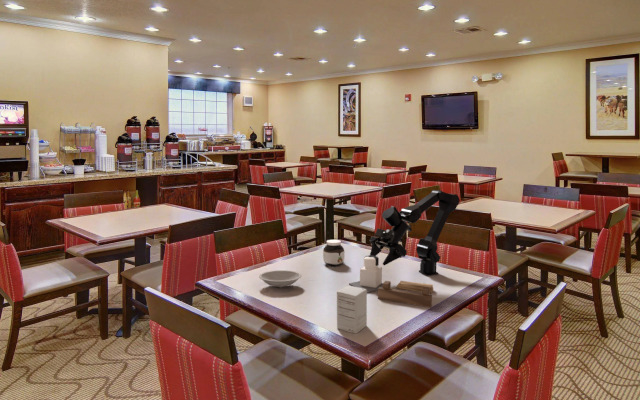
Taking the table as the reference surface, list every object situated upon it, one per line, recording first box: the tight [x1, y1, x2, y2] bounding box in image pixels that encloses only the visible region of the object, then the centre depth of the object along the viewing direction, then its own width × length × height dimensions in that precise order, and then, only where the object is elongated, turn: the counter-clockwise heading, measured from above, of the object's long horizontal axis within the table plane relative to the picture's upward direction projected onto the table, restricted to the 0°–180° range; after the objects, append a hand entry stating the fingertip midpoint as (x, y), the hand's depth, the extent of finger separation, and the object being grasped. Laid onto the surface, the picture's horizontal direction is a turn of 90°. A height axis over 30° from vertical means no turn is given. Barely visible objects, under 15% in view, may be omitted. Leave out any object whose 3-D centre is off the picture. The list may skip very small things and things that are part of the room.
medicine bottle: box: [359, 254, 383, 288], centre depth 178 cm, size 7×7×12 cm
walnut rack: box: [377, 280, 433, 308], centre depth 162 cm, size 4×20×6 cm, turn 63°
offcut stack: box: [396, 280, 434, 294], centre depth 175 cm, size 4×14×2 cm, turn 63°
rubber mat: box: [348, 280, 384, 294], centre depth 179 cm, size 12×12×1 cm
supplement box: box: [336, 284, 368, 334], centre depth 139 cm, size 7×7×13 cm
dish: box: [258, 270, 302, 288], centre depth 178 cm, size 18×14×5 cm
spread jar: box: [322, 239, 345, 267], centre depth 212 cm, size 12×11×12 cm
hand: (376, 262), depth 179 cm, fingers open, 9 cm apart
